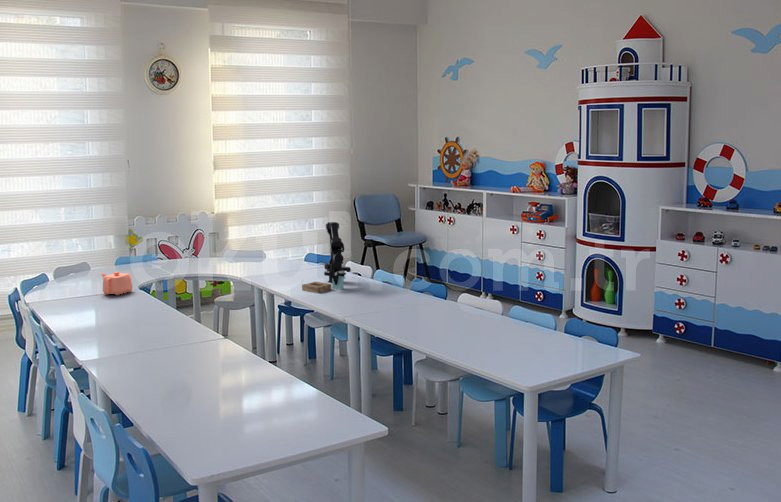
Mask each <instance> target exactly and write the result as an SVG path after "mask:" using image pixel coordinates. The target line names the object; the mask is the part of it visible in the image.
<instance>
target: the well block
mask: <svg viewBox="0 0 781 502" xmlns="http://www.w3.org/2000/svg"><path fill="white" fill-rule="evenodd" d="M331 290H332V283H328V282H327V283H326V282H321V281H313V282H308V283H304V284H301V291H304V292H305V291H306V292H309V293H313V294H314V293H315V294H320V293H324V292H327V291H331Z"/></svg>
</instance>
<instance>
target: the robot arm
mask: <svg viewBox="0 0 781 502" xmlns="http://www.w3.org/2000/svg"><path fill="white" fill-rule="evenodd" d="M325 229H326V232H327V234H328V236H329V247H330V249H329V250H330V252H329V253H330V257H329V258H330V259H329V260H328V263H325V264H324V265H323V266H324V270H325V271H324V273H323V274H324V276H328V280H327V283H332V278H333V280H334V283H335V285H337V283H338V276H344V277H346V275H347V273H351V271H352V269H351V267H350V266H343V264H344V259H345V258H344V255H343V253H344V252H345V245H344V242H343V241H342V238H341V237H340V236H339V229H340V223H339V222H337V221H329V222H327V223H326V224H325Z"/></svg>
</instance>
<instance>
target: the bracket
mask: <svg viewBox="0 0 781 502" xmlns="http://www.w3.org/2000/svg"><path fill="white" fill-rule="evenodd" d="M345 279H346V276H338V283H337V285H335V283H334V280H333V278H332V282H331V288H332V289H334V290H335V289H336V290H339V291H341V290H344V287H345V285H344V280H345Z"/></svg>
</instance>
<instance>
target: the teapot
mask: <svg viewBox="0 0 781 502" xmlns="http://www.w3.org/2000/svg"><path fill="white" fill-rule="evenodd" d="M99 274H100V275H101V276H102V294H103V295H109V294H115V295H114V296H120V295H119V294H121V295H123V293H124V294H128V293H130V292H131V291H133V281H132V278H131V277H132V276H131V274H130V273H123V272H120V271H114V272H113V273H111V274H107V275H106V273H103V272H100V273H99ZM127 292H128V293H127Z"/></svg>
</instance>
